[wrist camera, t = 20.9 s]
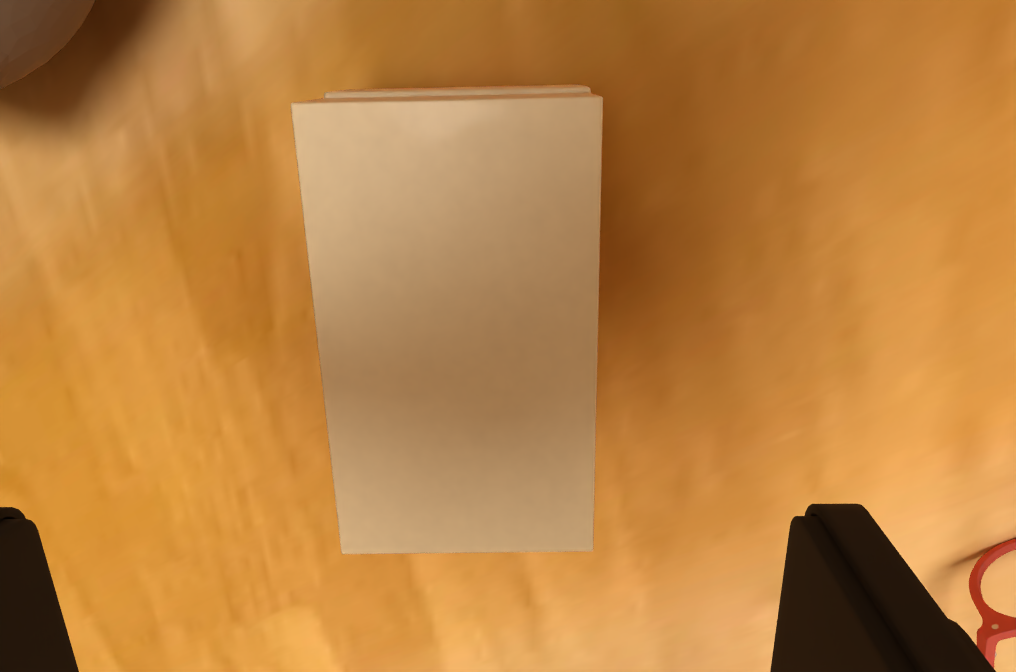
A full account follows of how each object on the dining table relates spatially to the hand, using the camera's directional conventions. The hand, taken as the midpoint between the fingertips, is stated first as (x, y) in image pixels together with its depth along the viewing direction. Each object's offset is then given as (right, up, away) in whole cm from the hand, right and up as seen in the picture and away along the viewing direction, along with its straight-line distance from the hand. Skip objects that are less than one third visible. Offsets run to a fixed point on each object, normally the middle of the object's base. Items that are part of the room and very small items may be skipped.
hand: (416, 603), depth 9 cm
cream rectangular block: (0, +4, +12) cm, 13 cm away
